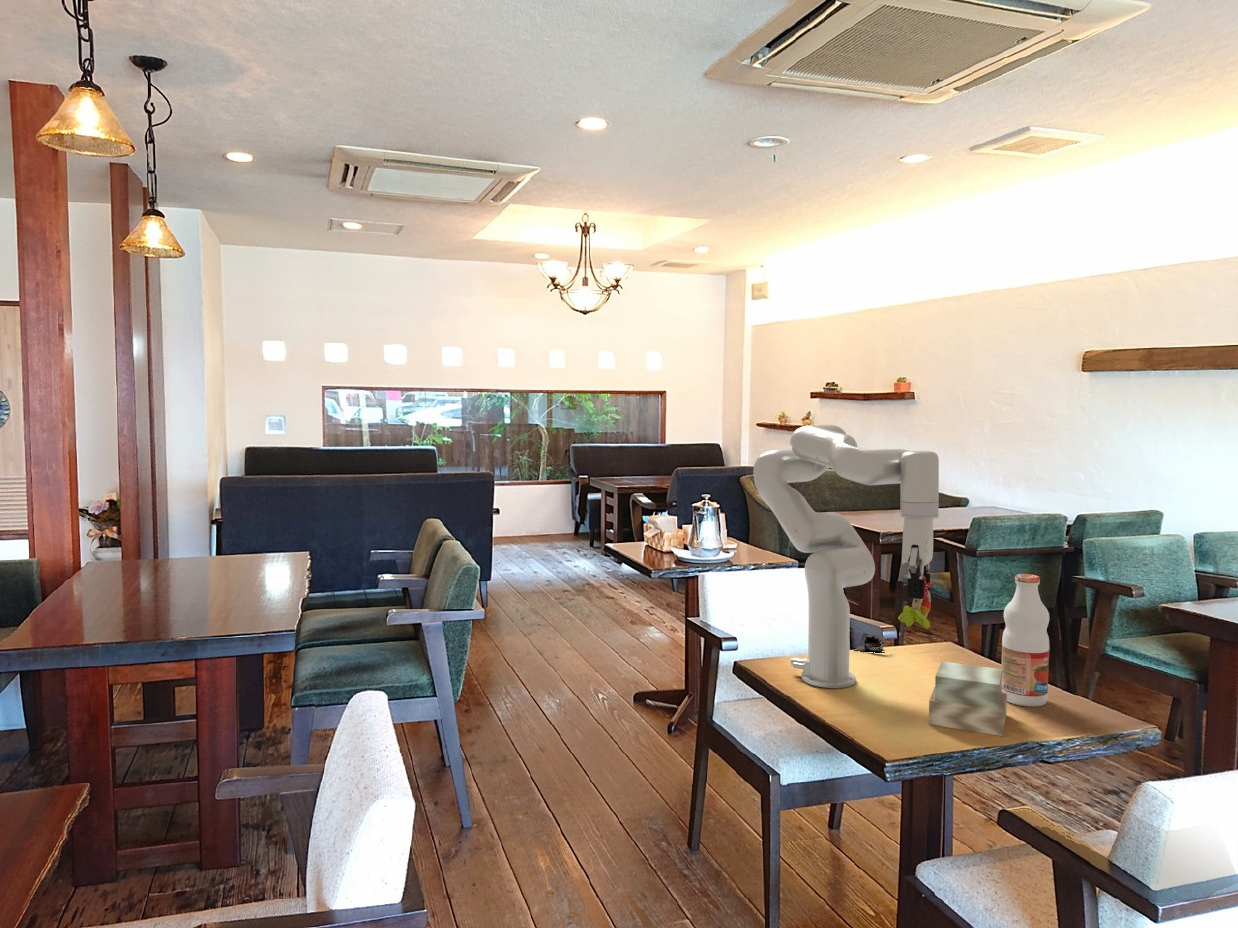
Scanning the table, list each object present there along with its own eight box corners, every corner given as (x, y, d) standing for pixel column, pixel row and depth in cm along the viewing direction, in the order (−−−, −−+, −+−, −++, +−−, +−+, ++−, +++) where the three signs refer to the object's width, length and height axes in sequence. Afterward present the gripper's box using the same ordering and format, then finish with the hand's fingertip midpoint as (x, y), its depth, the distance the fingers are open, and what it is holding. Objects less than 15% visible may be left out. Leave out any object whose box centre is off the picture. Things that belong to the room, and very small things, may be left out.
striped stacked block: (928, 724, 173) (929, 676, 172) (936, 704, 184) (937, 659, 184) (1003, 736, 166) (1004, 686, 166) (1006, 714, 178) (1007, 668, 177)
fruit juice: (1000, 690, 193) (1004, 570, 191) (1046, 696, 189) (1050, 573, 187) (1000, 703, 184) (1003, 578, 183) (1048, 710, 181) (1052, 581, 179)
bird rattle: (905, 631, 180) (894, 621, 173) (912, 581, 183) (901, 569, 176) (936, 635, 176) (925, 625, 169) (942, 584, 180) (932, 572, 173)
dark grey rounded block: (846, 652, 225) (846, 635, 225) (855, 645, 231) (855, 629, 231) (893, 660, 218) (893, 642, 218) (901, 653, 224) (901, 636, 224)
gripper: (908, 505, 185) (908, 586, 186) (892, 513, 170) (892, 601, 171) (944, 506, 181) (944, 588, 182) (931, 515, 166) (931, 604, 167)
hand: (919, 594), depth 176 cm, fingers closed on bird rattle, 6 cm apart
